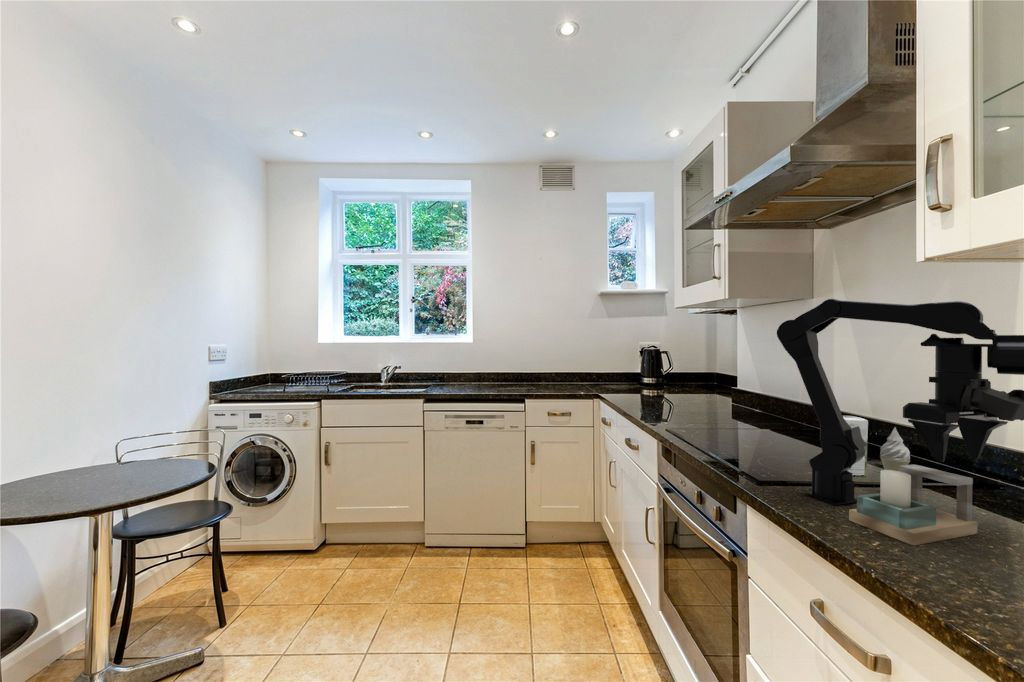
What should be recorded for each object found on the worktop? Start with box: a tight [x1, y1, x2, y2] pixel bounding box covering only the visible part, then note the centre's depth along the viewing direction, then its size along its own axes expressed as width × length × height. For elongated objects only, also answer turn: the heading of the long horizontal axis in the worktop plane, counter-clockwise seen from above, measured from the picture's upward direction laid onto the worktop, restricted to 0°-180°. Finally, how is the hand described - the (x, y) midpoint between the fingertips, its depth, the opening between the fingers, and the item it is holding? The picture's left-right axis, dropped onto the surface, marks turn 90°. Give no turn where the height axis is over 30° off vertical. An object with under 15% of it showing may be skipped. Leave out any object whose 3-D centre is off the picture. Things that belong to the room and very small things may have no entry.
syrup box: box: [842, 415, 869, 477], centre depth 107 cm, size 6×6×14 cm
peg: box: [879, 469, 911, 509], centre depth 75 cm, size 4×4×8 cm
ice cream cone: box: [879, 426, 911, 473], centre depth 92 cm, size 5×5×15 cm
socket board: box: [848, 463, 979, 546], centre depth 76 cm, size 10×16×10 cm, turn 107°
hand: (957, 459), depth 75 cm, fingers open, 9 cm apart
